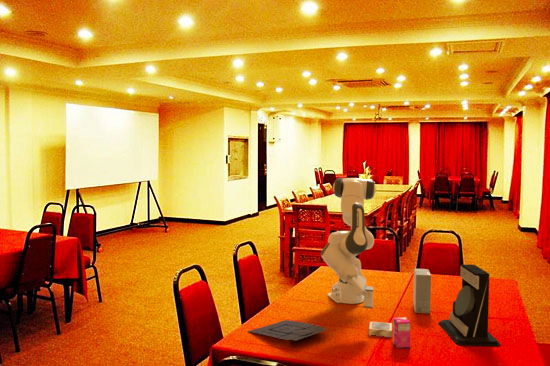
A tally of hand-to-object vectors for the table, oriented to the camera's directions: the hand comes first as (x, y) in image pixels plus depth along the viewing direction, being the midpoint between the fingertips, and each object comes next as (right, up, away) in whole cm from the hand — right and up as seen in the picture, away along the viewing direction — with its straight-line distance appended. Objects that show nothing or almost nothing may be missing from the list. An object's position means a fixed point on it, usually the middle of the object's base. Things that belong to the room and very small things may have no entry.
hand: (370, 295), depth 228 cm
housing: (-1, -5, +1) cm, 5 cm away
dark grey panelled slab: (-37, -17, -1) cm, 41 cm away
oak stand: (+5, -17, +1) cm, 18 cm away
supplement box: (+10, -18, -15) cm, 26 cm away
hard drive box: (+34, -15, +36) cm, 52 cm away
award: (+44, -17, 0) cm, 48 cm away
